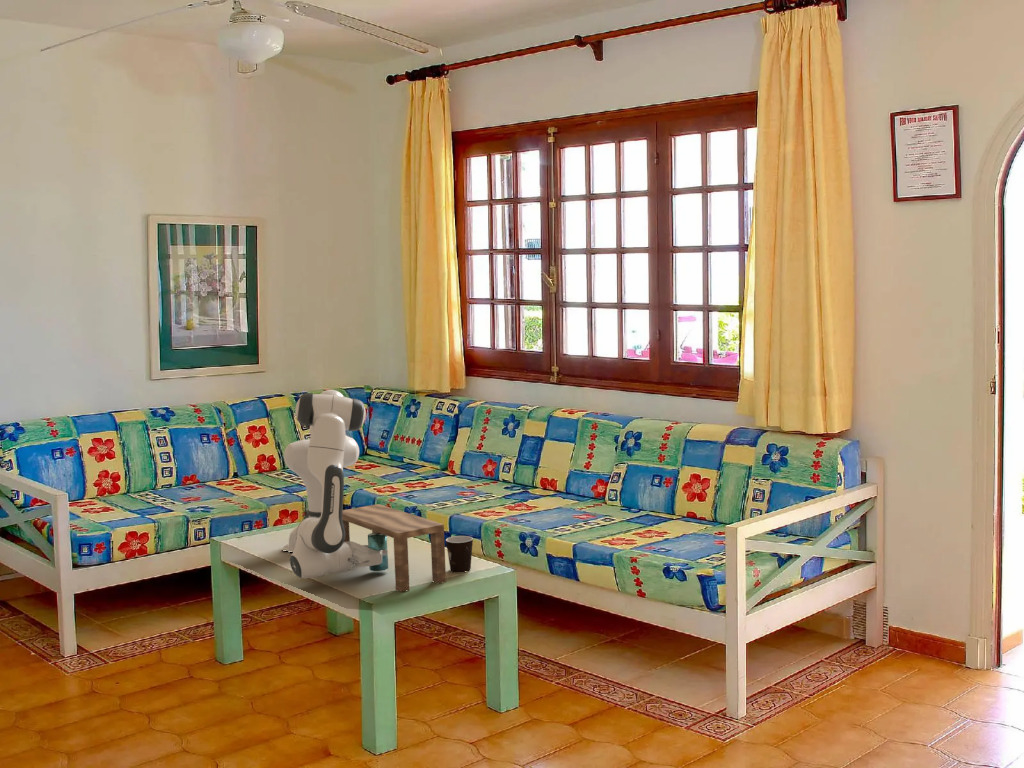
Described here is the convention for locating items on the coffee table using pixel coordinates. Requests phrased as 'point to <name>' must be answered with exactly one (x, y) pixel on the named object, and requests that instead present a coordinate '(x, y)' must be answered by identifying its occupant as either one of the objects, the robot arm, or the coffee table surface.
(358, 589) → the coffee table surface
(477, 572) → the coffee table surface
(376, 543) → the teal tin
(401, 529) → the low shelf
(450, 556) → the coffee mug
